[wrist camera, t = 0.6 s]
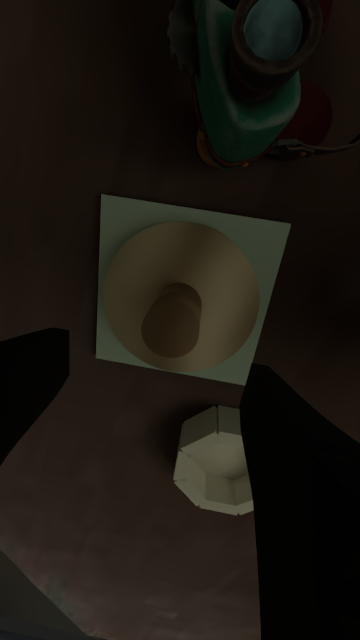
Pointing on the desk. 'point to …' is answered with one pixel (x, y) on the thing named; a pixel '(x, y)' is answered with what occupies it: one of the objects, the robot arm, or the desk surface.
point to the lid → (181, 296)
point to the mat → (247, 233)
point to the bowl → (214, 462)
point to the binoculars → (252, 77)
